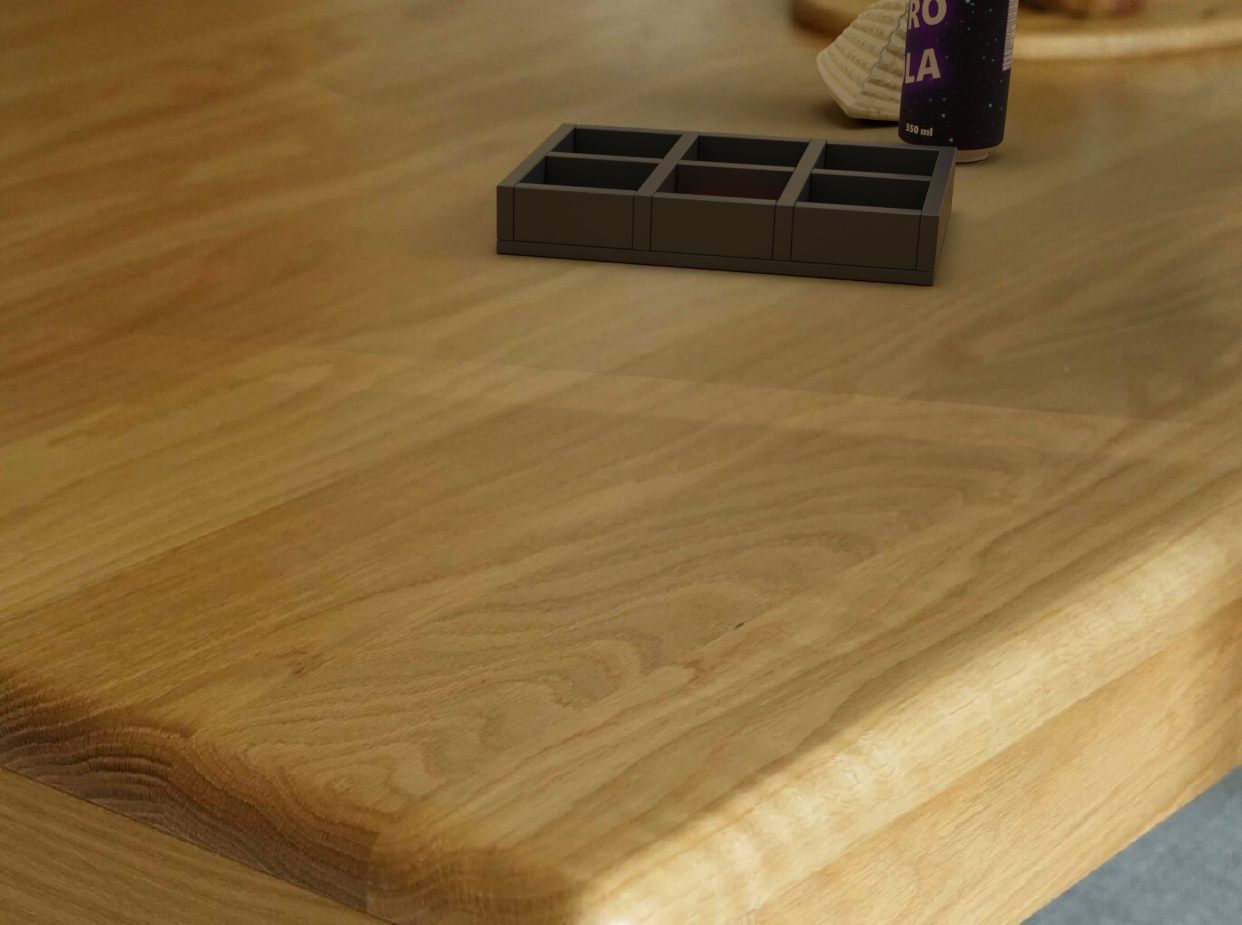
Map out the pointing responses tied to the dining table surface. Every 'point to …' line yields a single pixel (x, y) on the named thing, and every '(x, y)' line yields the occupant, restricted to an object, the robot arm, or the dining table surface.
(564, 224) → the grid
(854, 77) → the seashell
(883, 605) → the dining table surface
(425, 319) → the dining table surface
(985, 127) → the beverage can
